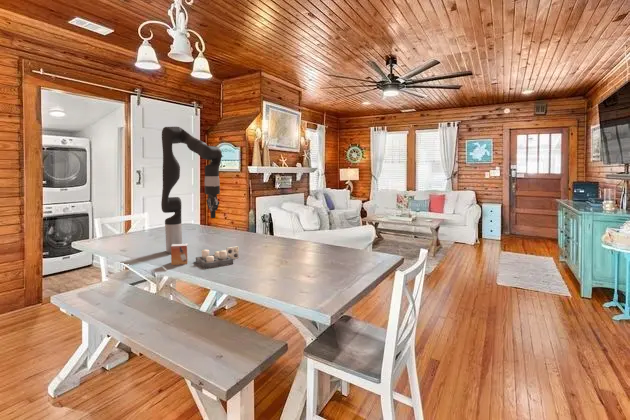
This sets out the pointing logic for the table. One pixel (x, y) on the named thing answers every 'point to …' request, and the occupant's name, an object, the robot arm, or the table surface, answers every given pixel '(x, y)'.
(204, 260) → the board
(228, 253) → the card
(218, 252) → the button
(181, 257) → the small box
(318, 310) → the table surface
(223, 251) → the button
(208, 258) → the button
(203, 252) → the button
